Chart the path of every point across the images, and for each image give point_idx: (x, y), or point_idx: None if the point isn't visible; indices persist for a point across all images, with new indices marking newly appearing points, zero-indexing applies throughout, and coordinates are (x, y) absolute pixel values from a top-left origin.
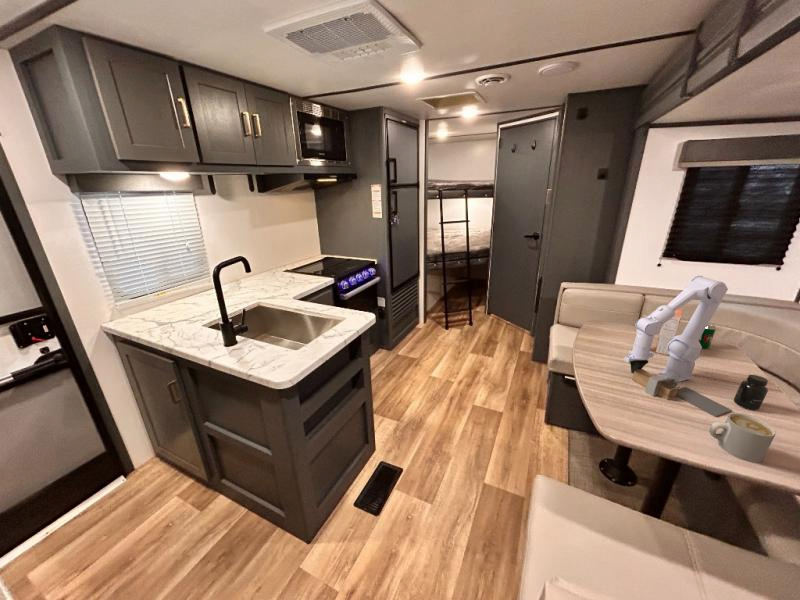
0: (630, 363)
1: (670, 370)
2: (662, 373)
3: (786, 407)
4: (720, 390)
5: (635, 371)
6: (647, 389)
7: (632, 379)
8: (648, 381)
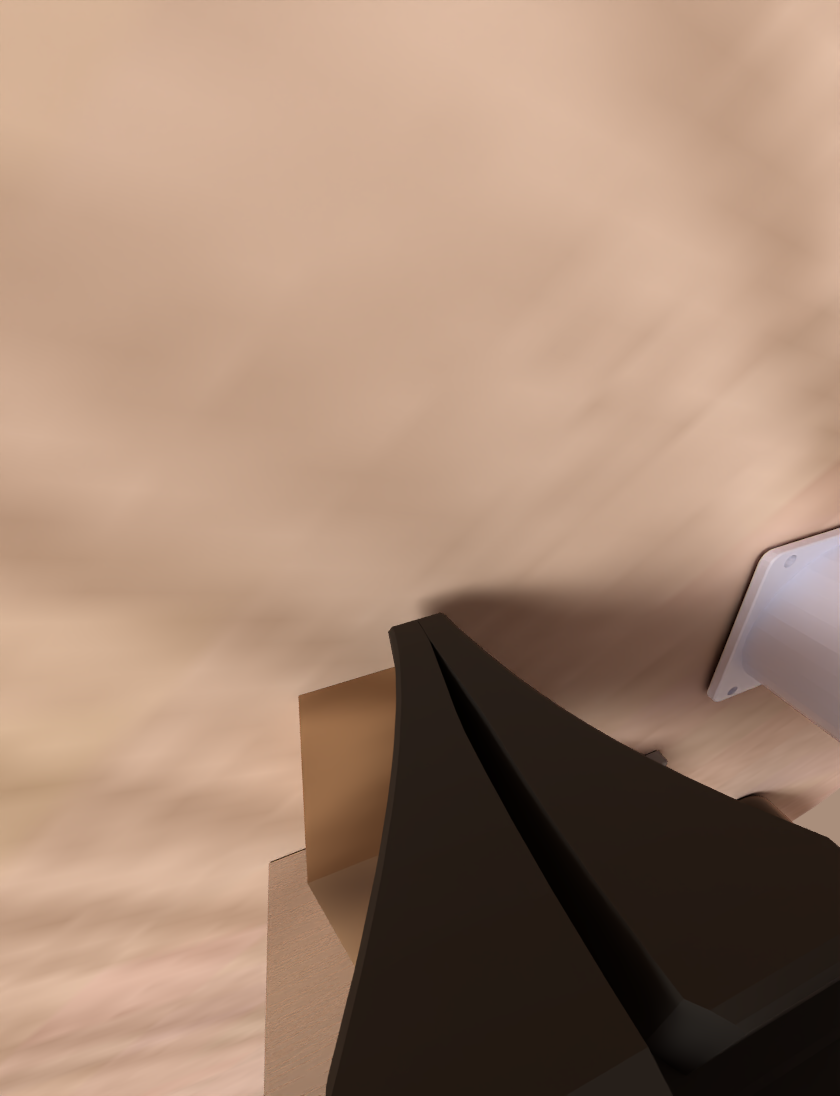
0: (382, 845)
1: (823, 685)
2: (754, 590)
3: (817, 799)
4: (788, 740)
5: (313, 893)
6: (271, 925)
7: (301, 708)
8: (265, 1083)
